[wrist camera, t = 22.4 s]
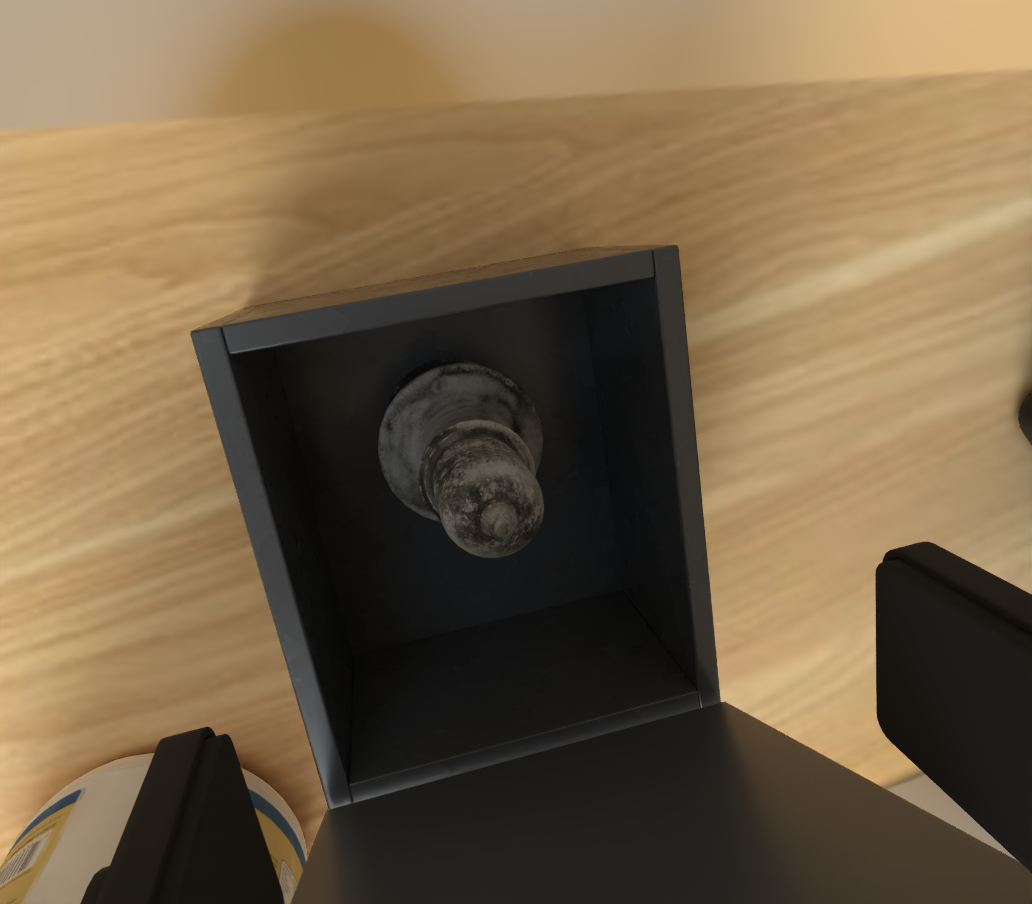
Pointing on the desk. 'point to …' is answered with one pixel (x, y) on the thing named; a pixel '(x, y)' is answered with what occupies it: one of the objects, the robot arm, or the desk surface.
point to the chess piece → (466, 454)
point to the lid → (655, 830)
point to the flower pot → (1026, 418)
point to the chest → (425, 543)
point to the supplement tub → (119, 835)
